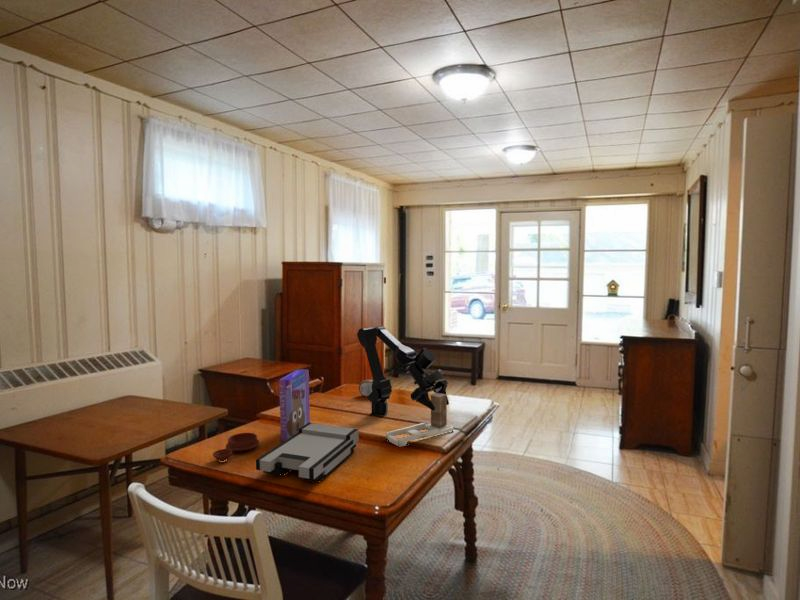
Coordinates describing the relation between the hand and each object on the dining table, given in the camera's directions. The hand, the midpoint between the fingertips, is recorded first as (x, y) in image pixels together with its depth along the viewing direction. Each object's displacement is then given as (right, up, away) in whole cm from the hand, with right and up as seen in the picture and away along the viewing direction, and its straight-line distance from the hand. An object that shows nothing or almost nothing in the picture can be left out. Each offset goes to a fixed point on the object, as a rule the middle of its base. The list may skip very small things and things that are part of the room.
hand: (441, 407), depth 192 cm
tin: (-30, -6, +51) cm, 59 cm away
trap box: (-8, -11, -3) cm, 14 cm away
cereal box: (-58, -11, +1) cm, 59 cm away
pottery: (-76, -13, -19) cm, 79 cm away
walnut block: (-1, -8, +2) cm, 8 cm away
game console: (-47, -14, -28) cm, 56 cm away
